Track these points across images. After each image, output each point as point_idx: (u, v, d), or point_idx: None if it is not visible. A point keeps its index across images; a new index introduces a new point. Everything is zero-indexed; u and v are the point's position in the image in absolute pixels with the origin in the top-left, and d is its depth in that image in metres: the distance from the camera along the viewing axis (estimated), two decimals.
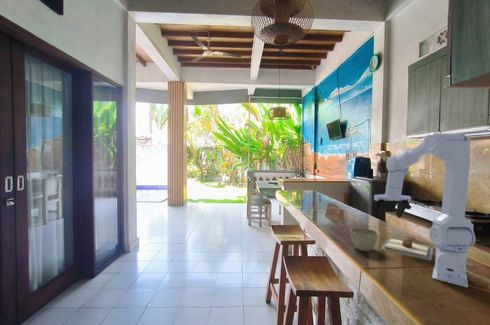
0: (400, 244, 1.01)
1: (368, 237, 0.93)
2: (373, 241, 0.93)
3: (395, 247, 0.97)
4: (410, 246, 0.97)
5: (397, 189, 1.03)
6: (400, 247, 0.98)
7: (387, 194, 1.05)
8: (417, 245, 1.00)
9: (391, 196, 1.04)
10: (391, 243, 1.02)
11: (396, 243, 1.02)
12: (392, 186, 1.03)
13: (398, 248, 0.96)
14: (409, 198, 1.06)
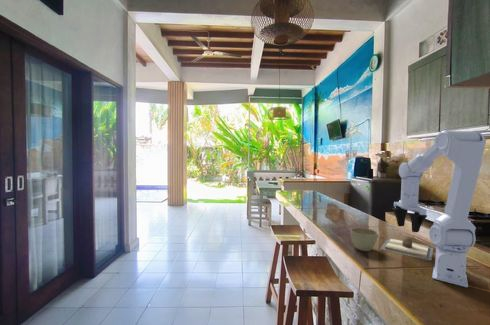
0: (400, 244, 1.01)
1: (368, 237, 0.93)
2: (373, 241, 0.93)
3: (395, 247, 0.97)
4: (410, 246, 0.97)
5: (402, 195, 0.98)
6: (400, 247, 0.98)
7: None
8: (417, 245, 1.00)
9: (400, 203, 1.00)
10: (391, 243, 1.02)
11: (396, 243, 1.02)
12: (407, 194, 0.96)
13: (398, 248, 0.96)
14: (419, 210, 0.92)
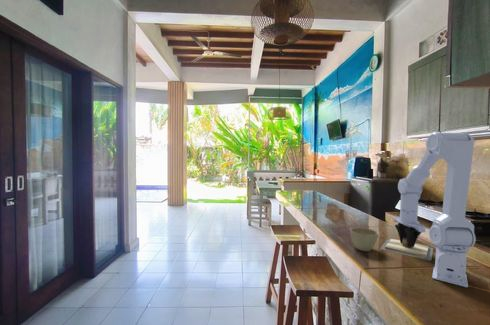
0: (400, 244, 1.01)
1: (368, 237, 0.93)
2: (373, 241, 0.93)
3: (395, 247, 0.97)
4: None
5: (401, 211, 0.98)
6: (400, 247, 0.98)
7: None
8: (417, 245, 1.00)
9: (399, 219, 1.00)
10: (391, 243, 1.02)
11: (396, 243, 1.02)
12: (406, 210, 0.97)
13: (398, 248, 0.96)
14: (419, 227, 0.92)
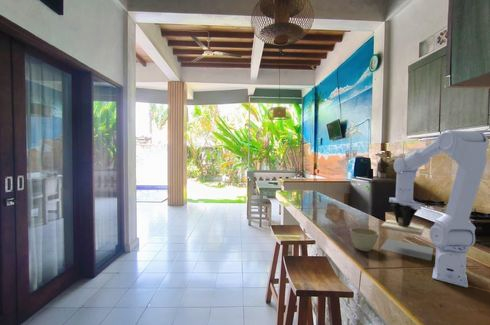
0: (396, 224, 1.01)
1: (368, 237, 0.93)
2: (373, 241, 0.93)
3: (391, 226, 0.97)
4: None
5: (397, 190, 0.98)
6: (396, 226, 0.97)
7: None
8: (413, 225, 1.00)
9: (395, 198, 1.00)
10: (387, 223, 1.02)
11: (392, 223, 1.02)
12: (403, 188, 0.96)
13: (394, 227, 0.96)
14: (414, 205, 0.92)
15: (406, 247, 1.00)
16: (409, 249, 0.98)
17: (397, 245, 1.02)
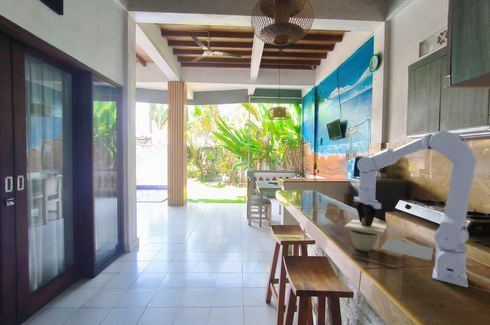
0: (360, 223, 1.00)
1: (368, 237, 0.93)
2: (373, 241, 0.93)
3: (353, 226, 0.96)
4: (368, 225, 0.96)
5: (359, 189, 0.97)
6: (359, 226, 0.96)
7: None
8: (376, 224, 0.99)
9: (358, 197, 0.99)
10: (351, 223, 1.00)
11: (356, 223, 1.01)
12: (369, 188, 0.94)
13: (356, 227, 0.95)
14: (374, 204, 0.91)
15: (406, 247, 1.00)
16: (409, 249, 0.98)
17: (397, 245, 1.02)
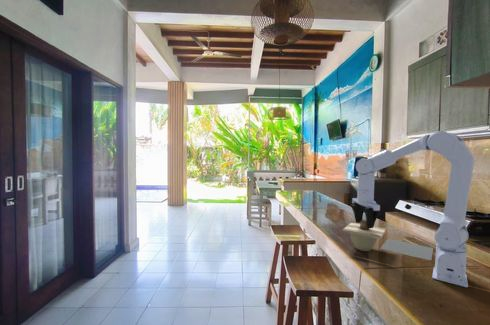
0: (358, 227, 1.00)
1: (368, 237, 0.93)
2: (373, 241, 0.93)
3: (352, 230, 0.96)
4: (367, 228, 0.96)
5: (358, 191, 0.97)
6: (358, 229, 0.96)
7: None
8: (375, 228, 0.99)
9: (357, 199, 0.99)
10: (349, 226, 1.00)
11: (354, 226, 1.01)
12: (368, 190, 0.94)
13: (355, 230, 0.95)
14: (373, 206, 0.91)
15: (406, 247, 1.00)
16: (409, 249, 0.98)
17: (397, 245, 1.02)
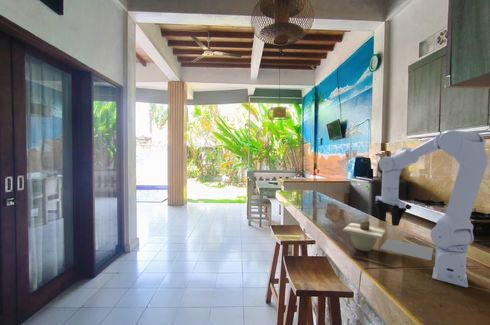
0: (358, 227, 1.00)
1: (368, 237, 0.93)
2: (373, 241, 0.93)
3: (352, 230, 0.96)
4: (367, 228, 0.96)
5: (382, 189, 0.98)
6: (358, 229, 0.96)
7: None
8: (375, 228, 0.99)
9: (381, 197, 1.00)
10: (350, 226, 1.00)
11: (355, 226, 1.01)
12: (390, 187, 0.96)
13: (355, 230, 0.95)
14: (399, 203, 0.92)
15: (406, 247, 1.00)
16: (409, 249, 0.98)
17: (397, 245, 1.02)
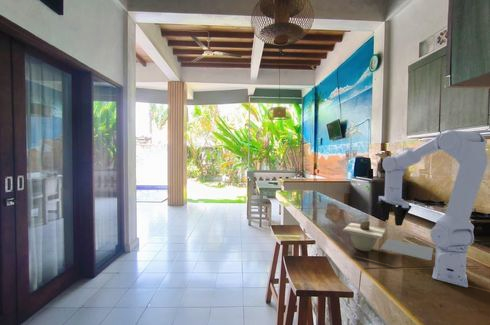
0: (358, 227, 1.00)
1: (368, 237, 0.93)
2: (373, 241, 0.93)
3: (352, 230, 0.96)
4: (367, 228, 0.96)
5: (386, 189, 0.98)
6: (358, 229, 0.96)
7: None
8: (375, 228, 0.99)
9: (384, 196, 1.00)
10: (350, 226, 1.00)
11: (355, 226, 1.01)
12: (393, 187, 0.96)
13: (355, 230, 0.95)
14: (402, 203, 0.92)
15: (406, 247, 1.00)
16: (409, 249, 0.98)
17: (397, 245, 1.02)
